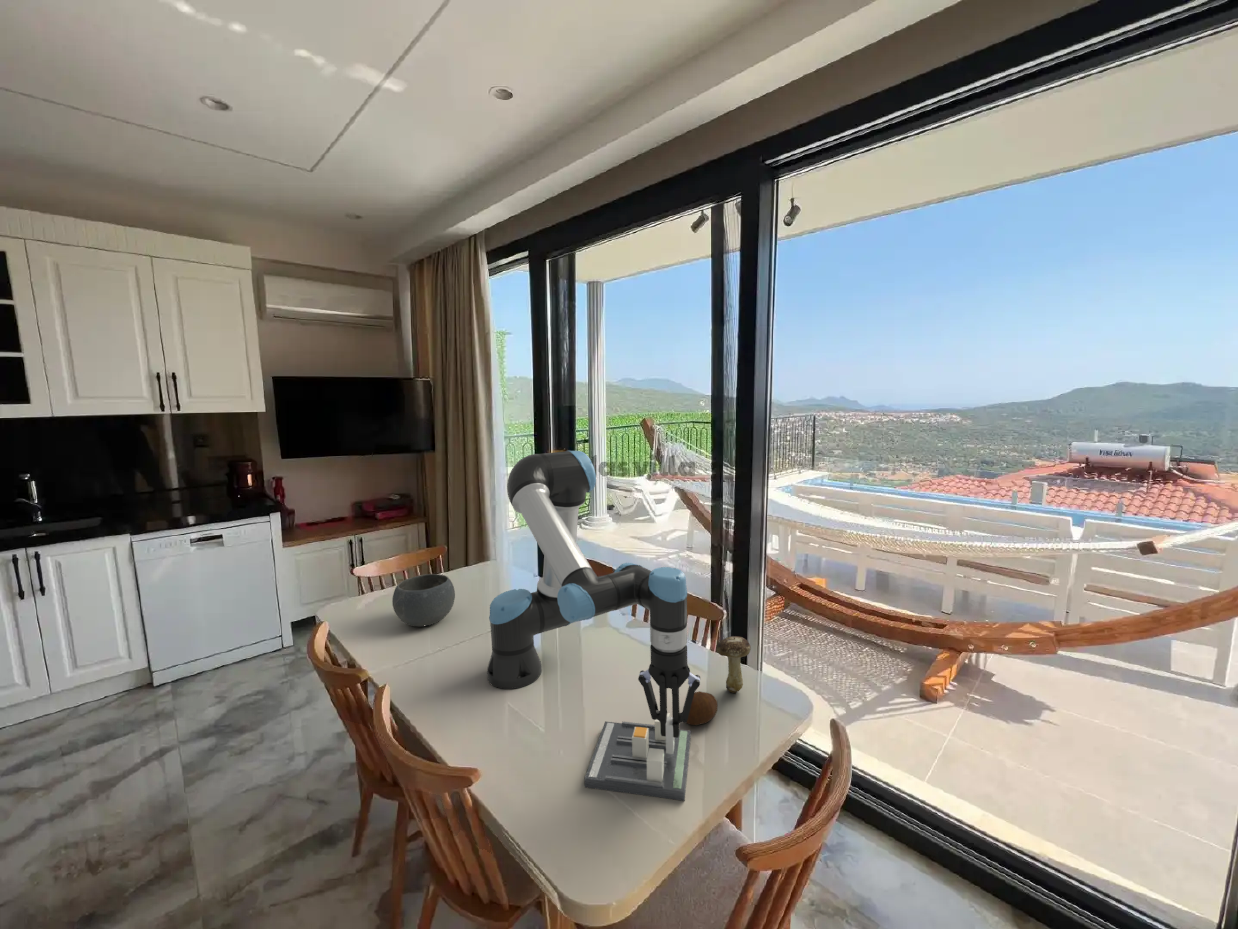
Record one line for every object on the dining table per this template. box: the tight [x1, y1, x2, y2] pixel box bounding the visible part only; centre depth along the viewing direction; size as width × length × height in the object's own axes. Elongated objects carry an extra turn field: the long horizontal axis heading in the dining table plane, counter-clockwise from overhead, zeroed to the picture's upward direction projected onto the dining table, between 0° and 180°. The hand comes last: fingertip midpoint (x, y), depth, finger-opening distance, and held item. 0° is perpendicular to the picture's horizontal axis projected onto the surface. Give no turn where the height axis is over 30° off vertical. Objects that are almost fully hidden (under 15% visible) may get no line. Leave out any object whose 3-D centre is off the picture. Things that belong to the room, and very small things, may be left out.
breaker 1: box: [654, 712, 671, 741], centre depth 113 cm, size 3×4×4 cm
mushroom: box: [716, 635, 752, 694], centre depth 131 cm, size 9×9×15 cm
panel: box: [584, 721, 692, 802], centre depth 108 cm, size 20×18×3 cm
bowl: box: [392, 573, 456, 627], centre depth 178 cm, size 20×20×15 cm
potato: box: [686, 691, 718, 726], centre depth 121 cm, size 7×10×7 cm
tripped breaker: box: [632, 727, 649, 759], centre depth 108 cm, size 3×4×5 cm
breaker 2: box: [647, 748, 664, 783], centre depth 101 cm, size 3×4×4 cm
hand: (670, 749), depth 107 cm, fingers closed
